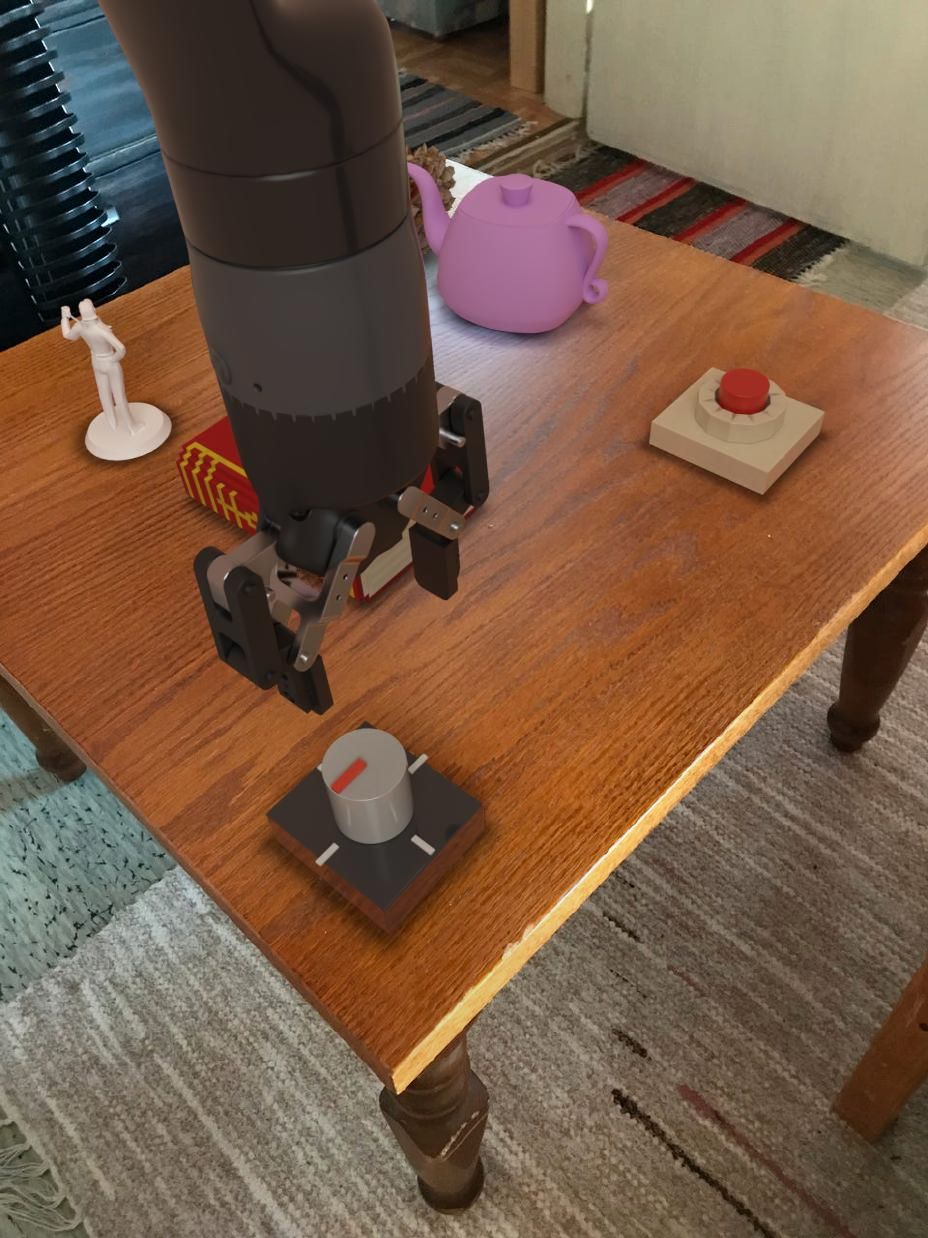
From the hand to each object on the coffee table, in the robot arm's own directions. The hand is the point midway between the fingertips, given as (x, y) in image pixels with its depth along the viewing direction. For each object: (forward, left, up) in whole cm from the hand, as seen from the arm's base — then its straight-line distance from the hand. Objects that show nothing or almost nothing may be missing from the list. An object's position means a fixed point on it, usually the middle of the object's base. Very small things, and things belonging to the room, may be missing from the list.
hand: (377, 642), depth 46 cm
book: (+22, -16, -15) cm, 31 cm away
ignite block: (+2, -41, -15) cm, 44 cm away
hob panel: (0, +2, -15) cm, 15 cm away
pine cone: (+42, -43, -15) cm, 62 cm away
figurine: (+42, -12, -15) cm, 46 cm away
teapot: (+29, -46, -15) cm, 56 cm away
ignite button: (+2, -41, -11) cm, 42 cm away
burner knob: (0, +2, -12) cm, 12 cm away
